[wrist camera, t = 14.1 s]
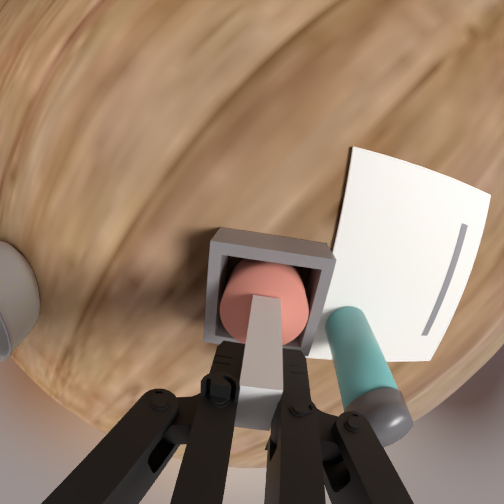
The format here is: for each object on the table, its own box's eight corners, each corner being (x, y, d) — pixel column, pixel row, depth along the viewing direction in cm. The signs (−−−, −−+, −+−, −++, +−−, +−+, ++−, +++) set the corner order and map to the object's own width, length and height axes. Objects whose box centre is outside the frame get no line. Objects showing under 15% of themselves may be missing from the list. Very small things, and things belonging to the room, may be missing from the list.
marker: (328, 304, 19) (361, 422, 9) (371, 305, 18) (423, 412, 9) (320, 341, 20) (340, 454, 10) (360, 341, 20) (396, 446, 10)
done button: (232, 246, 17) (223, 267, 14) (310, 258, 17) (318, 281, 14) (225, 312, 19) (216, 341, 16) (294, 322, 19) (297, 352, 16)
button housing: (220, 227, 18) (210, 240, 15) (326, 243, 17) (336, 259, 15) (212, 317, 20) (203, 341, 17) (304, 330, 20) (308, 356, 17)
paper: (352, 146, 15) (353, 146, 15) (489, 194, 15) (491, 195, 15) (303, 355, 21) (303, 357, 20) (429, 359, 20) (430, 361, 20)
